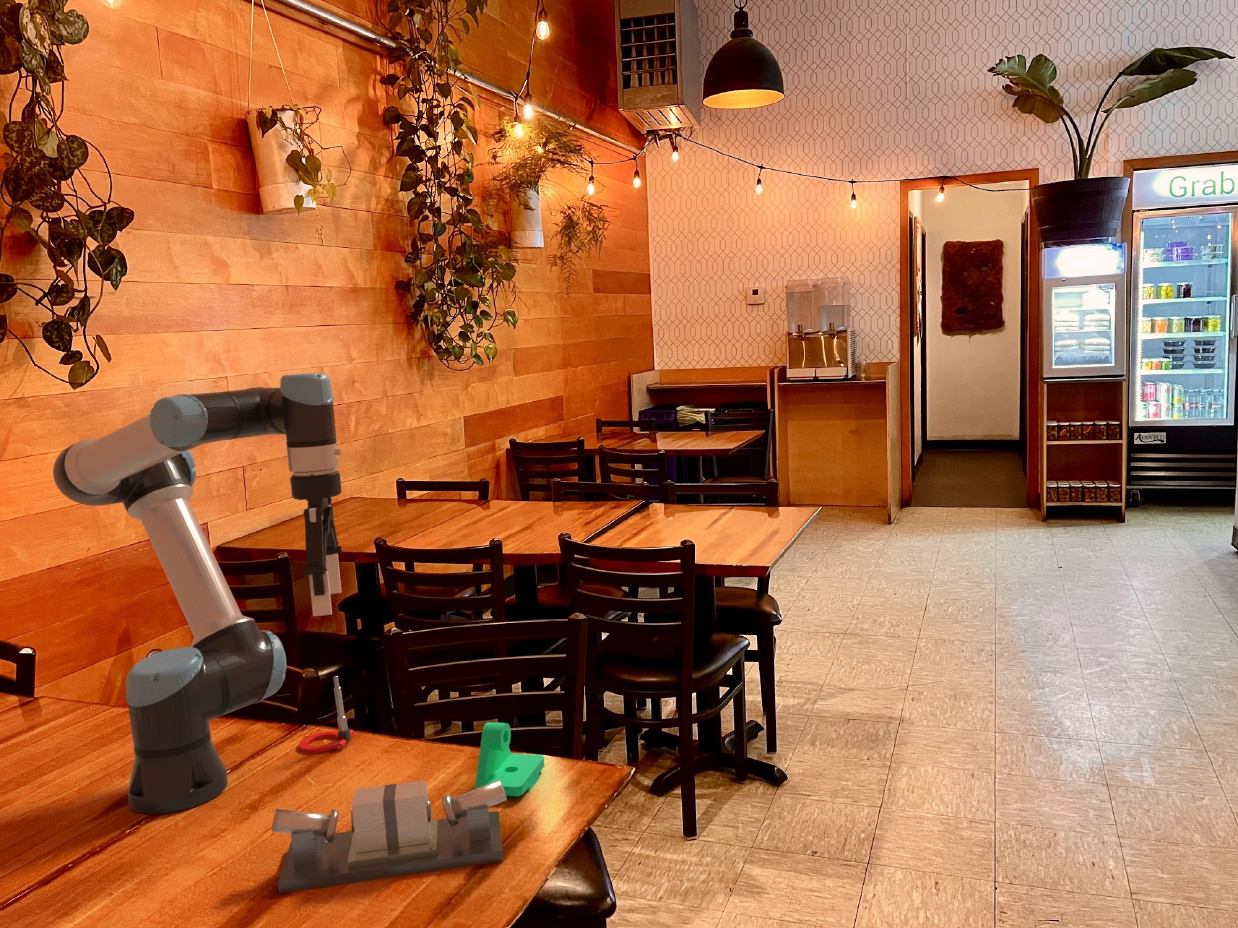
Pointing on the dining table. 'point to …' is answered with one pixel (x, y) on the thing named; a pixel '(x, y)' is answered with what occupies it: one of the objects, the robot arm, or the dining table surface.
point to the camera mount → (505, 762)
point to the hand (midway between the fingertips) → (327, 603)
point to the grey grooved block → (391, 816)
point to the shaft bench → (335, 861)
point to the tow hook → (342, 735)
